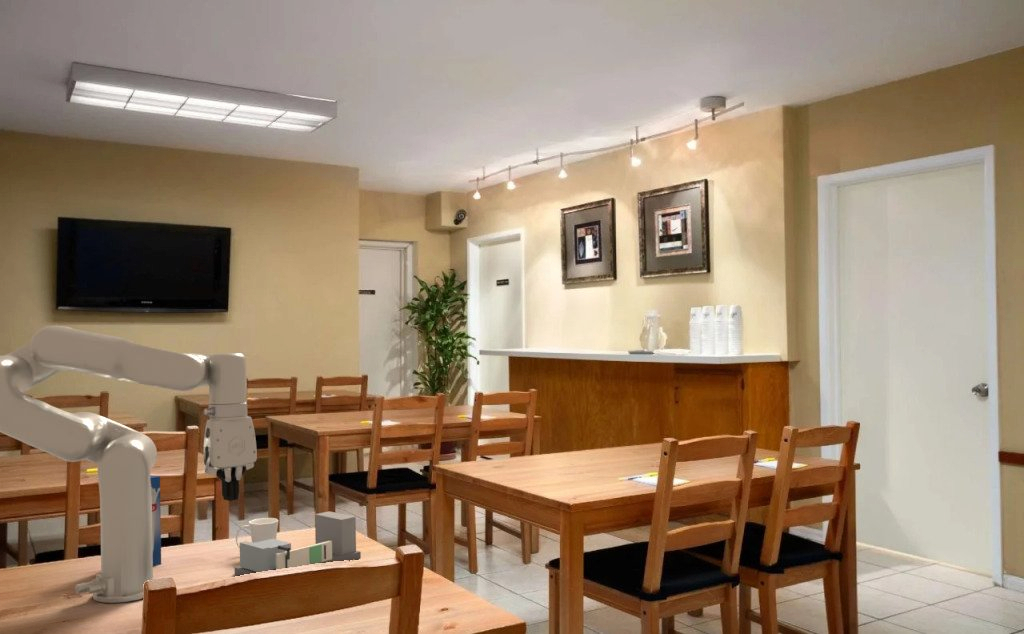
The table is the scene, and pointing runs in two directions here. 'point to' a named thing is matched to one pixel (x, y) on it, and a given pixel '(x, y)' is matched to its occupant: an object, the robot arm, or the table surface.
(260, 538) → the cup
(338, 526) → the frame
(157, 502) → the milk carton
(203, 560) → the table surface
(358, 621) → the table surface
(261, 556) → the grey block
